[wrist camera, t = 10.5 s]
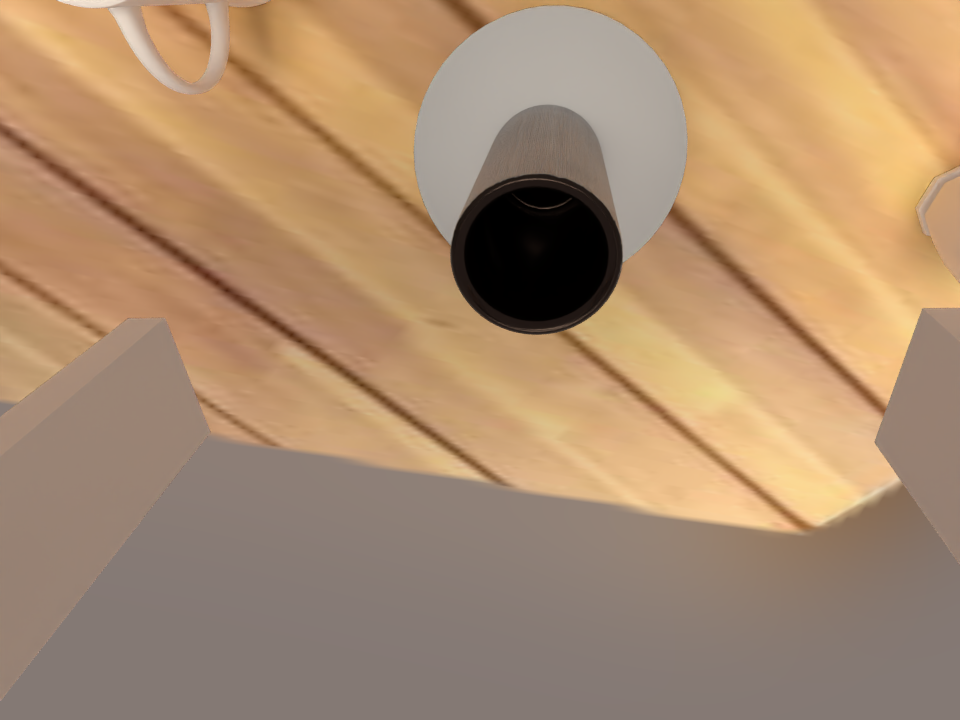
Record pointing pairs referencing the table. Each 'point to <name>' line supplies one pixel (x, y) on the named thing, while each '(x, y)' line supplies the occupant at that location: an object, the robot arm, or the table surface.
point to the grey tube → (539, 226)
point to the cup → (943, 217)
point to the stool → (564, 82)
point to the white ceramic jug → (128, 15)
